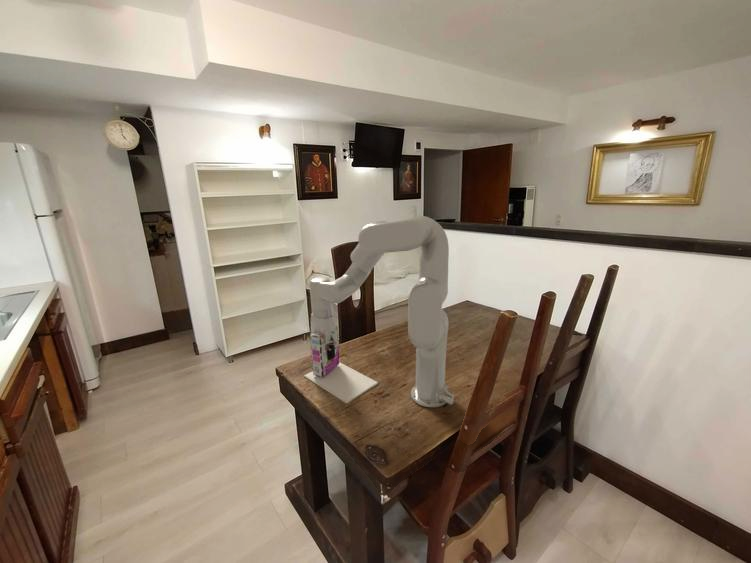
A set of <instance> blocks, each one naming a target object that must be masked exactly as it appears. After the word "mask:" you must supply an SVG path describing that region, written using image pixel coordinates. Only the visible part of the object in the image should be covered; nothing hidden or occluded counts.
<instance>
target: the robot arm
mask: <svg viewBox="0 0 751 563" xmlns="http://www.w3.org/2000/svg"><path fill="white" fill-rule="evenodd" d="M357 237H358V240H357V241H358V243H357V244H356V246H355V248H354V249H353V250H352V251H351V252H350V260H351V265H350V266H349V267H348V269H347V270H346V271H345V273H344V274H343V275H342V276H341V277H339V278H337V279H335V280H332V281H331V280H330V279H329V277H324V276H320V277H319V276H318V277H315V278H312V279H310V281H309V283H308V284H309V294H310V296H309V297H310V307H311V314H310V315H311V316H310V335H311V334H313V333H315V332H317V333H319V334H321V335H323V337H324V344H327V348H328V350H327V358H328V360H331V359H333V358H335V348H336V346H337V345H338V346H339V344H340V343H339V339H338V340H337V338H336V327H335V326H336V322H335V318H334V311H333V310H334V309H333V304H340V303H342V302H344V301H345V300H347V298H350V296H352V295H354V294H355V293H356V292H357V291H358V290H359V288H360V287H361V286H362V285H363V284H364V282H365V281H366V280H367V278H368V277H369V275H370V274H371V272H372V270H373V269H374V268H375V266H376V265H377V263H378V262H379V261H380V260H381V259H382V257H383V256H384V255H385V254H386V253H400V252H409V251H413V250H417V249H418V248H420V257H419V274H418V281H417V283H416V284H415V285H414V286H413V287H412V288H411V290H410V292H409V296H408V302H407V306H408V307H407V308H408V309H407V333H408V334H407V335H408V339H409V341H410V342H411V343H412V345H413V346H414V347H415V348H416V350H415V351H416V352H415V385H414V386H413V387H412V388H411V389H410V396H411V399H412V400H413V401H414V402H415V403H416V404H417V405H419V406H422V407H426V408H439V407H442V406H444V405H445V404H448V405H450V406H452V405H453V403H455V402H454V401H455V399H454V397H455V394H453V393H451V392H449V391H448V385H446V383H445V382H446V380H445V379H446V361H447V360H446V356H447V343H448V335H449V334H448V333H449V318H448V315H447V313H446V311H445V310H444V309H443V304H444V302H445V301H446V299H447V296H448V294H449V289H448V286H449V285H448V284H449V255H450V254H449V251H450V249H449V239H448V236H447V234H446V231H445V230H444V228H443V226H441V224H440V223H438V222H437V221H436V220H435V219H433V218H431V217H429V216H426V215H425V216H424V215H417V216H413V217H410V218H407V219H403V220H396V221H395V220H394V221H385V220H377V221H374V222H371V223H368V224H365V225H364V226H363V227H362V228H361V229H360V231H359V234H358V236H357ZM330 340H331V341H330ZM329 343H331V344H332V345H331V346H330V344H329Z"/></svg>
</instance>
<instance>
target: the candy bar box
mask: <svg viewBox="0 0 751 563" xmlns="http://www.w3.org/2000/svg"><path fill="white" fill-rule="evenodd" d="M335 327H336V338H337V340H338V341H339V332H338V326H337V325H335ZM309 339H310V351H311V365H312V371H313V375H316V376H319V377H322V378H323V377H324V376H325V375H327V374H328V373H329V372H330V371H331V370H333V369H334V368H335V367H336V366H337V365H339V362H340V351H339V350H340V349H339V344H338V345H337V346H336V348H335V358H333V359H331V360H328V358H327V350H328V348H327V344H324V337H323V335H321V334H319V333H317V332H315V333H313V334H311V333H310V335H309ZM330 341H331V340H330ZM329 344H330V346H331V345H332V344H331V343H329Z"/></svg>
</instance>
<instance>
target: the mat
mask: <svg viewBox="0 0 751 563" xmlns="http://www.w3.org/2000/svg"><path fill="white" fill-rule="evenodd" d="M303 377H304V378H306V379H308V380H309V381H310V382H312V383H314V384H316V386H319V387H320V388H322V389H323V390H324V391H326V392H328V393H329V394H331V395H332V396H334V398H335V397H336V398H337V399H339V400H340V401H341V402H343V403H345V404H349V403H350V402H352V401H354V400H355V399H356V398H359V397H360V396H361V395H362V394H364V393H366V392H368V391H369V390H370V389H373V387H375V386H377V385H378V383H379V382H378V381H376V380H374V379H372V378H370V377H369V376H367V375H364V374H363V373H361V372H359V371H357V370H355V369H353V368H352V367H350V366H347V365H346V364H343V363H341V362H340V361H339V365H337V366H336V367H335V368H334V369H333V370H331V371H330V372H329V373H328V374H327V375H325V376H324V377H323V378H322V377H319V376H316V375H313V370H312V371H310V372H308V373H305V374H304V375H303Z"/></svg>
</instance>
